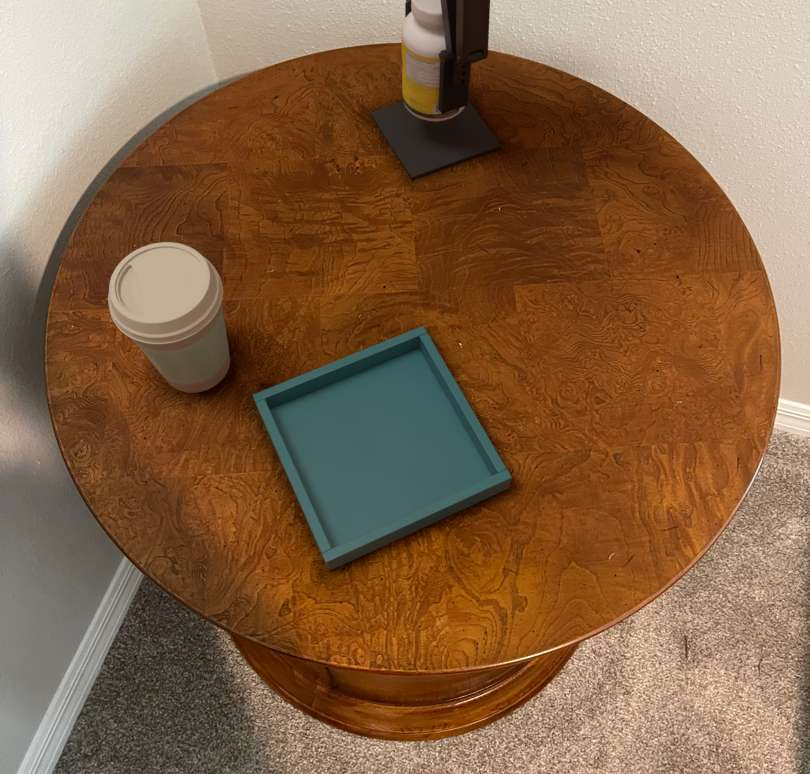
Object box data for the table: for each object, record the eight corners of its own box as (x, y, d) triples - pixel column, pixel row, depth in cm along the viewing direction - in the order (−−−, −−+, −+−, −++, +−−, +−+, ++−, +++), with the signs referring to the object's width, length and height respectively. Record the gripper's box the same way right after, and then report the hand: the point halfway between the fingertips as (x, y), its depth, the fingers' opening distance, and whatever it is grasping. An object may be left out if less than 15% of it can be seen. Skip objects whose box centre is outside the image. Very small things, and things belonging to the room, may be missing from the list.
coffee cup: (166, 315, 74) (126, 228, 63) (258, 331, 73) (232, 245, 62) (132, 397, 70) (82, 318, 59) (228, 415, 69) (196, 338, 58)
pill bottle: (442, 70, 84) (446, -37, 73) (480, 107, 81) (491, 1, 71) (389, 96, 82) (386, -11, 72) (427, 134, 79) (429, 30, 69)
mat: (500, 147, 84) (501, 145, 83) (411, 180, 82) (411, 177, 81) (455, 86, 88) (455, 83, 88) (370, 115, 86) (370, 112, 86)
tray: (509, 488, 66) (512, 477, 64) (328, 571, 62) (325, 562, 60) (422, 339, 72) (423, 325, 71) (256, 407, 69) (252, 394, 67)
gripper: (343, -226, 63) (359, 34, 83) (460, -90, 54) (446, 163, 74) (431, -248, 64) (426, 13, 85) (558, -119, 56) (519, 137, 76)
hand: (435, 83), depth 79 cm, fingers closed on pill bottle, 6 cm apart
